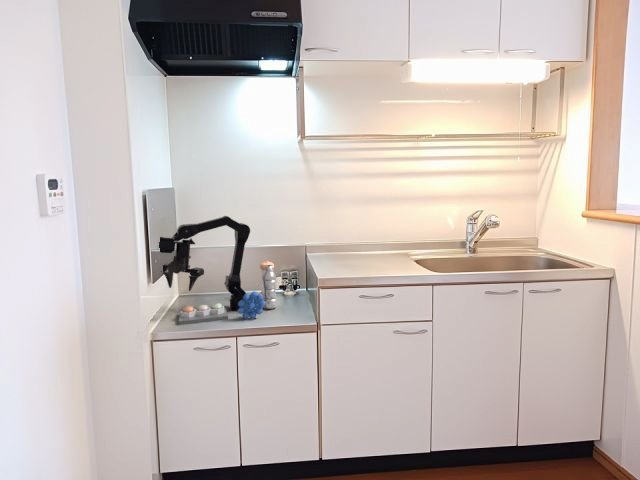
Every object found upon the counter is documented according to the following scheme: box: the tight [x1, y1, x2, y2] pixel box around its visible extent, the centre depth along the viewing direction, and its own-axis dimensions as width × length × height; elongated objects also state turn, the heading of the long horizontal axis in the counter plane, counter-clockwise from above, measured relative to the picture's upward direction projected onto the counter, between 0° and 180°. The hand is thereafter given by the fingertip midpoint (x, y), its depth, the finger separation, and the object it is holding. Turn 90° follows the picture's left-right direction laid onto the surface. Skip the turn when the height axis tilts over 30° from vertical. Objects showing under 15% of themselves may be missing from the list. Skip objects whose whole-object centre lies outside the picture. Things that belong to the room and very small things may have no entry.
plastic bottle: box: [261, 265, 278, 310], centre depth 198 cm, size 6×7×20 cm
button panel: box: [178, 305, 229, 326], centre depth 189 cm, size 20×14×4 cm
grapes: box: [237, 290, 265, 320], centre depth 185 cm, size 12×7×12 cm, turn 99°
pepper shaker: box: [259, 260, 275, 300], centre depth 214 cm, size 7×7×19 cm
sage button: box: [211, 302, 223, 310], centre depth 190 cm, size 4×4×2 cm
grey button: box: [197, 304, 209, 311], centre depth 188 cm, size 4×4×2 cm
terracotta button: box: [182, 305, 194, 313], centre depth 186 cm, size 4×4×2 cm
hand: (179, 289), depth 188 cm, fingers open, 9 cm apart
